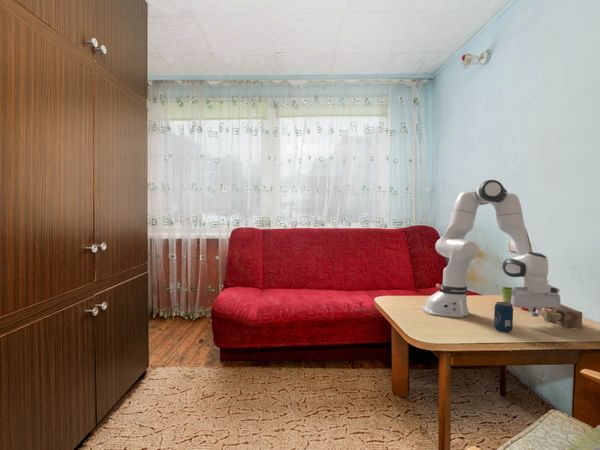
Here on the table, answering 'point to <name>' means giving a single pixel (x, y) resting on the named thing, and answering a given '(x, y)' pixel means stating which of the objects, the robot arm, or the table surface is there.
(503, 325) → the soda can
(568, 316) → the socket block
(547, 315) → the oak plug
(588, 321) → the table surface
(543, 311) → the terracotta plug
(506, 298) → the plant pot
